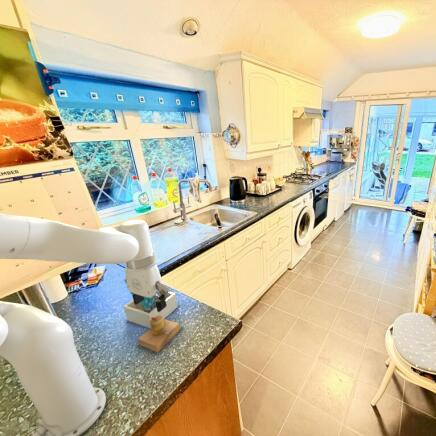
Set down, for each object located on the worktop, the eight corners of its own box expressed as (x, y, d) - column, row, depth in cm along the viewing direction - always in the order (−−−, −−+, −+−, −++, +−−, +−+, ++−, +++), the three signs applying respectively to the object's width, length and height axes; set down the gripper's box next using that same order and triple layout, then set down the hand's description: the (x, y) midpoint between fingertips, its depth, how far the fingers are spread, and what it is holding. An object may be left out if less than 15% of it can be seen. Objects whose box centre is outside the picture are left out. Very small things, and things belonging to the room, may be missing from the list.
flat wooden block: (158, 352, 78) (156, 345, 77) (139, 345, 80) (137, 338, 79) (180, 329, 87) (179, 323, 85) (163, 323, 89) (161, 317, 88)
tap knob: (168, 328, 83) (165, 316, 82) (158, 336, 80) (155, 325, 78) (159, 325, 85) (156, 313, 83) (150, 333, 81) (146, 321, 79)
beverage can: (147, 319, 90) (138, 287, 84) (143, 311, 94) (134, 280, 88) (163, 311, 94) (156, 280, 88) (159, 304, 98) (151, 274, 92)
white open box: (152, 329, 87) (148, 315, 84) (127, 320, 90) (123, 306, 88) (178, 306, 98) (175, 293, 95) (154, 299, 101) (151, 286, 99)
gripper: (107, 260, 71) (120, 306, 77) (151, 272, 66) (161, 320, 72) (131, 250, 78) (141, 292, 83) (172, 259, 72) (180, 304, 78)
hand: (150, 305), depth 77 cm, fingers open, 9 cm apart
